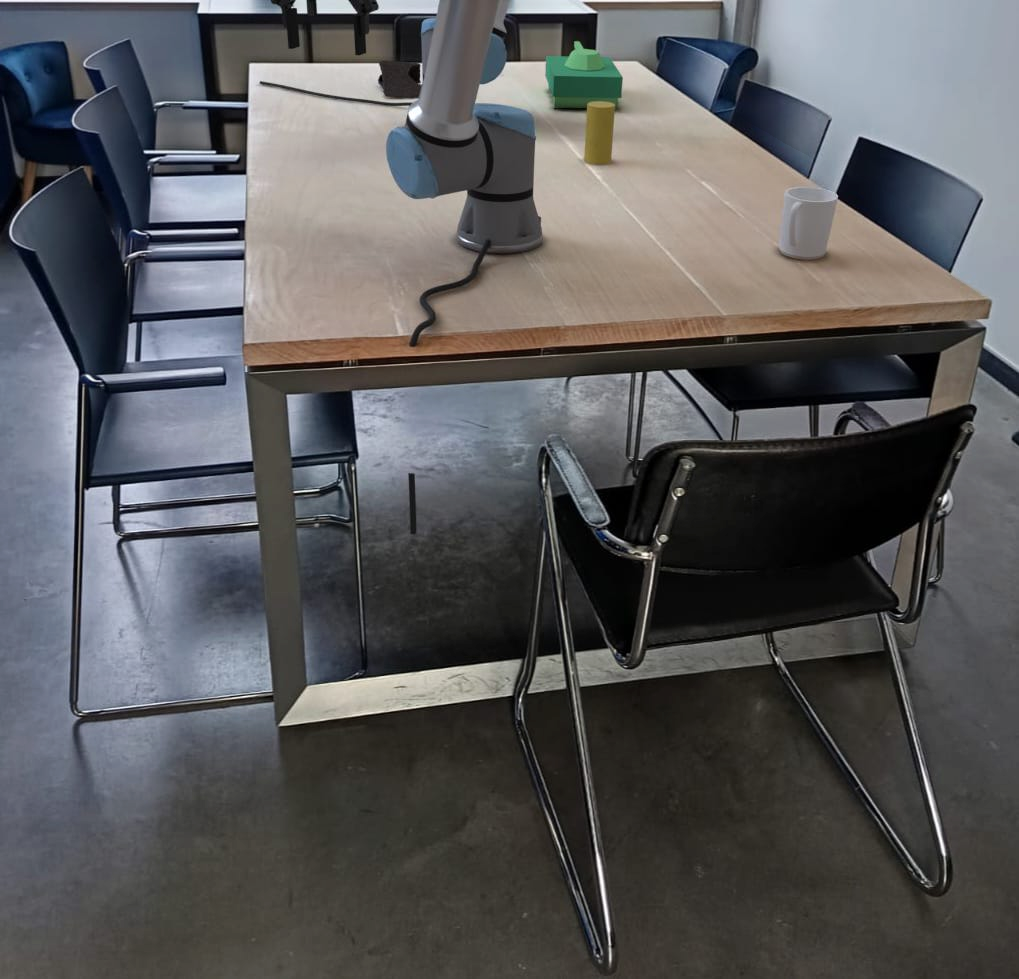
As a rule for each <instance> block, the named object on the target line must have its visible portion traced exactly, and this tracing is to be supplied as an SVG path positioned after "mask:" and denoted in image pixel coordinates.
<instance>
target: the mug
mask: <svg viewBox="0 0 1019 979" xmlns="http://www.w3.org/2000/svg"><path fill="white" fill-rule="evenodd" d="M838 198H839V195H838V194H837V193H836V192H835V191H832V190H828V189H825V188H820V187H813V186H795V187H790V188H787V189H786V190H785V191H784V197H783V206H782V216H781V225H780V235H779V245H778V250H779V252H780V254H781V255H782V256H783V255H784V256H785V257H787V258H792V259H796V260H805V261H806V260H807V261H812V260H819V259H822V258H823V257H825V255H826V252H827V248H828V244H829V239H830V234H831V231H832V230H831V229H832V225H833V221H834V216H835V213H836V208H837V203H838Z"/></svg>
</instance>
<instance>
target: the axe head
mask: <svg viewBox="0 0 1019 979" xmlns="http://www.w3.org/2000/svg"><path fill="white" fill-rule="evenodd" d="M378 66H379V68H380V72H381V74H379V75H378V79H377V84H378V85H379V86H380V87H381V88H382V89H383V95H384V96H385V97H388V98H394V99H395V98H396V99H403V98H405V99H406V98H407V99H411V98H419V95H420V91H421V87H422V85H421V84H422V82H421V81H422V80H421V66H422V64H421V63H419V62H410V61H408V62H407V61H397V60H388V59H387V60H380V61H379V62H378Z"/></svg>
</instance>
